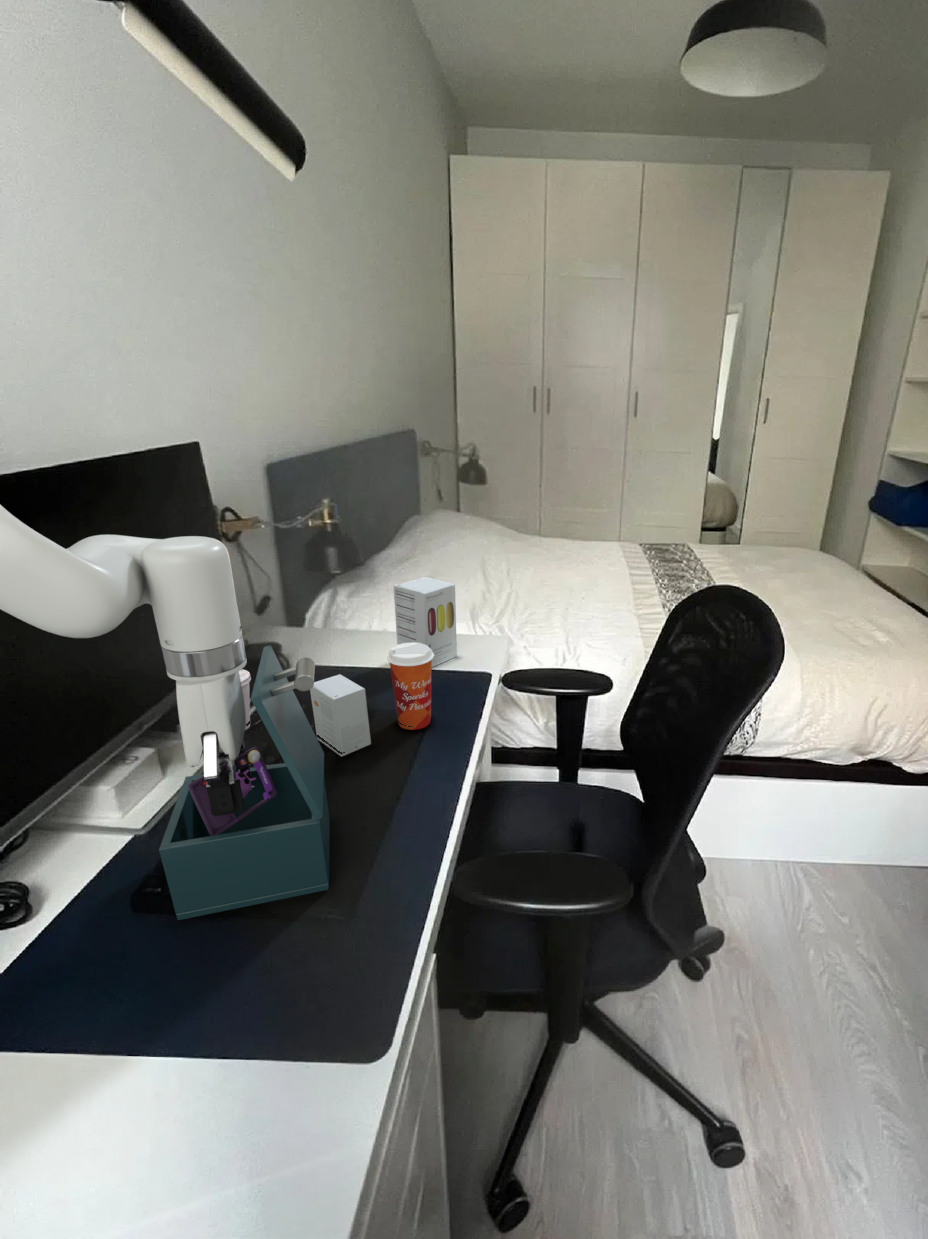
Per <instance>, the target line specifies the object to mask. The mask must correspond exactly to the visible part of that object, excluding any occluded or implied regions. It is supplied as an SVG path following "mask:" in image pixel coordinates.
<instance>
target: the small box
mask: <svg viewBox="0 0 928 1239" xmlns="http://www.w3.org/2000/svg"><path fill="white" fill-rule="evenodd" d="M309 692H310V700H311V706H312V713H313V718H314V726H315V733H316V734H315V735H316V738H317V740H318V742H320V743H321V744H323V745H325V747H327V748H329V749H330V750H332V751H333V752H334V753H336V755H338V756H340V757H344V756H347V755H349V754H352V753H354V752H356V751H358V750H361V749H363V748H365V747H368V746H370V745H372V739H371V732H370V731H371V730H370V722H369V713H368V704H367V702H368V701H367V695H366V688H365V687H363V686H361V685H359V684H357V683H356V682H354V681H352V680H350V679H349V678H347V677H346V676H344V675H342V674H341V673H339V674H336V675H333V676H330V677H327V678H324V679H323V678H322V679H320V680H318V681H314V685H313V687H312V688H311V689H310V690H309ZM317 735H319V736H320V737H321V738H323V739H324V740H325V741H327V742H328V743H329V744H331V745H332V746H333V747H335V748H336V749H337V750H338V751H340V752H342V753H343V752H345V753H343V754H340V753H338V752H337V751H336V750H334V749H333V748H332V747H330V746H329V745H328V744H326V743H325V742H323V741H322V740H321V739H319V738H318V737H317Z"/></svg>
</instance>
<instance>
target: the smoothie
mask: <svg viewBox="0 0 928 1239" xmlns="http://www.w3.org/2000/svg"><path fill="white" fill-rule="evenodd" d="M239 676H240V681H241V686H242V691H243V697H244V703H245V710H246V724H247V723H248V722H249V721H250V722H251V707H250V706H251V702H250V701H251V696H250V682H251V680H252V677H251V673H250V672H249V671H248V670H246V669H244V668H242V669H241V670H240V671H239ZM250 727H251V723H250V724H249V725H248V726H246V727H245V731H247V730H249V729H250Z"/></svg>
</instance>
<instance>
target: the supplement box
mask: <svg viewBox="0 0 928 1239" xmlns="http://www.w3.org/2000/svg"><path fill="white" fill-rule="evenodd" d="M393 599H394V616H395V629H396V630H395V631H396V645H399V644H403V643H422V644H425V645H427V646H428V647H429V648H430V649H431V650H432V652H433V653H434V657H433V659H432V668H434V667H436V666H439V665H441V664H443V663H445V662H447V661H449V660H451V659H454V658H456V657H457V656H458V650H457V648H458V646H457V644H458V642H457V605H456V604H457V603H456V584H454V583H452V582H449V581H448V582H447V581H444V580H441V579H436V578H432V577H427V576H422V577H419V578H417V579H412V580H409V581H406V582H402V583H399V584H394V585H393Z"/></svg>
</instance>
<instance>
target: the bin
mask: <svg viewBox="0 0 928 1239" xmlns="http://www.w3.org/2000/svg"><path fill="white" fill-rule="evenodd" d="M266 767H267V770H268V772H269V774H270V777H271V779H272V781H273V784H274V786H275V789H276V791H277V796H275V797H274V798H272V799H271V800H269V801H268V802H266V803H265V804H263V805H262V806H260V807H259V808H257V809H256V810H254V811H253V812H251V813H250V814H248V815H247V816H245V817H244V818H242V819H241V820H239V821H238V822H236V823H235V824H233V825H232V826H231V827H229V828H228V829H226V830H225V831H223V832H222V833H220V834H219V835H214V836H210V834H209V832H208V830H207V828H206V826H205V824H204V821H203V819H202V817H201V815H200V813H199V811H198V808H197V806H196V804H195V802H194V800H193V798H192V795H191V793H190V791H189V789H188V784H190V783H191V782H193V781H195V780H197V779H198V778H200V777H202V776H204V773H203V774H197V775H196V774H195V775H189V776H185V777H184V780H183V782H182V785H181V789H180V791H179V794H178V797H177V799H176V802H175V805H174V808H173V810H172V813H171V815H170V818H169V821H168V824H167V826H166V829H165V832H164V835H163V837H162V839H161V843H160V845H159V848H158V852H159V856H160V859H161V863H162V868H163V871H164V874H165V879H166V882H167V886H168V889H169V894H170V897H171V901H172V905H173V909H174V912H175V913H174V914H175V916H176V920H177V921H182V920H187V919H192V918H197V917H201V916H206V915H207V916H208V915H212V914H217V913H221V912H226V911H231V910H235V909H240V908H241V909H242V908H245V907H250V906H255V905H256V906H257V905H261V904H266V903H270V902H276V901H280V900H285V899H291V898H295V897H300V896H305V895H309V894H314V893H315V894H316V893H319V892H324V891H329V890H330V830H331V829H330V828H331V827H330V826H331V824H330V822H331V821H330V820H331V818H330V812H329V811H330V810H329V804H328V802H329V801H328V796H327V789H326V788H327V787H326V779H325V778H324V779H323V817H322V818H320V819H317V820H315V818H314V816H313V814H312V812H311V811H310V809H309V807H308V805H307V803H306V801H305V799H304V797H303V796H302V794H301V792H300V790H299V788H298V786H297V784H296V783H295V781H294V779H293V777H292V775H291V773H290V771H289V769H288V768H287V766H286V764H285V762H282V763H281V762H280V763H275V764H267V765H266ZM250 772H251V777H250V779H251V778H256V779H255V780H253V781H251V785H252V786H255V787H252V788H251V789H252V790H250V791H249V792H248V794H247V795H246V796H245V797H244V798H243V801H244V810H243V811H242V812H238V813H234V814H235V816H236V817H238V816H239V815H241V814H242V813H244V812H245V811H247V810H248V809H250V808H251V807H253V806H254V805H256V804H257V803H259V802H260V801H262V800H263V799H264V796H263V793H265V792H266V790H265V788H264V785H263V783H262V781H261V778H260V776H259V774H258V772H257V770H256V769H255V767H254V766H253V767H252V766H251V767H250ZM268 794H269V795H271V794H272V792H271V791H270V792H268Z"/></svg>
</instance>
